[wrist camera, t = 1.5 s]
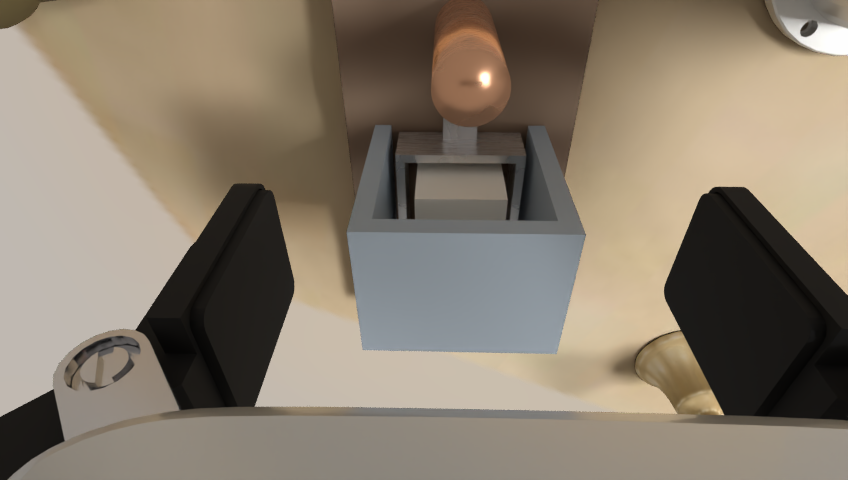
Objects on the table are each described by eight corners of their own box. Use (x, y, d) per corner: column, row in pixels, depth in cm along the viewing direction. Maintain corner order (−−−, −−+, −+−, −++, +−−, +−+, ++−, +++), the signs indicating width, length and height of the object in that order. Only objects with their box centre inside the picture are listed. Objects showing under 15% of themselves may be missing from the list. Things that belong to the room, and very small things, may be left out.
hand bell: (744, 335, 44) (864, 524, 31) (698, 388, 49) (785, 569, 37) (658, 323, 43) (744, 510, 31) (620, 378, 49) (681, 558, 36)
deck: (532, 296, 42) (537, 317, 40) (372, 293, 42) (368, 314, 40) (638, -299, 20) (659, -316, 18) (309, -290, 21) (295, -307, 19)
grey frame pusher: (508, 229, 34) (526, 335, 26) (403, 228, 34) (391, 332, 27) (536, -9, 25) (577, 48, 17) (392, -8, 25) (369, 48, 17)
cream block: (498, 147, 30) (507, 199, 26) (492, 212, 34) (499, 270, 29) (419, 147, 31) (414, 198, 26) (420, 212, 34) (416, 268, 29)
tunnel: (528, 230, 34) (556, 354, 26) (383, 228, 35) (362, 349, 26) (544, 125, 29) (585, 234, 21) (375, 125, 30) (346, 232, 21)
